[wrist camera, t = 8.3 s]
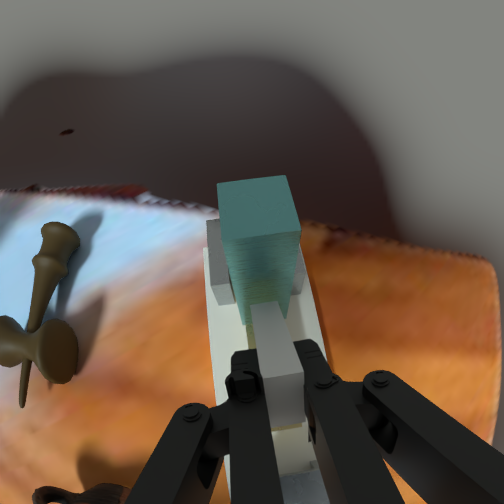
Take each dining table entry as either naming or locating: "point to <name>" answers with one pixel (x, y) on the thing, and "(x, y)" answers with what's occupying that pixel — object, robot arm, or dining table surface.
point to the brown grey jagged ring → (82, 495)
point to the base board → (235, 339)
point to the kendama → (52, 331)
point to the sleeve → (304, 486)
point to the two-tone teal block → (259, 245)
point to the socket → (220, 271)
